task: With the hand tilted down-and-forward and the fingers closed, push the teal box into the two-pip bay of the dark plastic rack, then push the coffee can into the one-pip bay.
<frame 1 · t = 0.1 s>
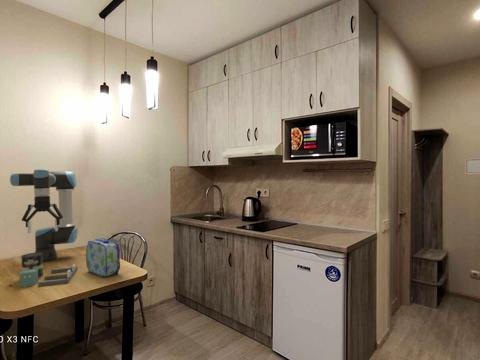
hand: (43, 231, 167), 28 cm above the table, tool pointing down, fingers open, 13 cm apart
rack: (59, 277, 169), on the table
lunch box: (103, 273, 176), on the table
coffee can: (32, 278, 169), on the table
teal box: (29, 284, 159), on the table
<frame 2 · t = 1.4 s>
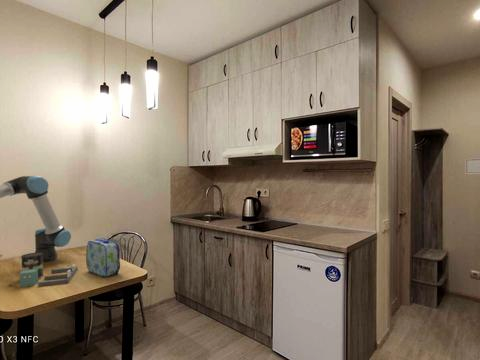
nothing on the table moved.
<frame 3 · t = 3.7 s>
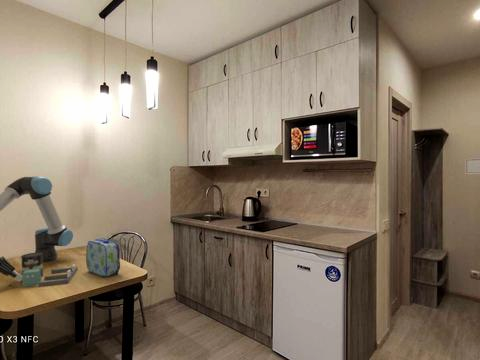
hand: (21, 279, 158), 3 cm above the table, tool tilted 45°, fingers closed
teal box: (32, 284, 159), on the table
everything else where it was.
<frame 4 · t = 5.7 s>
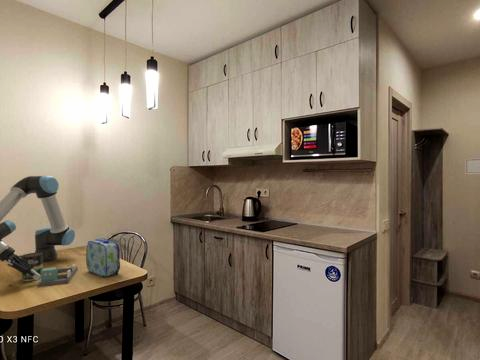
hand: (39, 278, 160), 3 cm above the table, tool tilted 45°, fingers closed
teal box: (49, 282, 162), on the table, touching gripper
everything else where it was.
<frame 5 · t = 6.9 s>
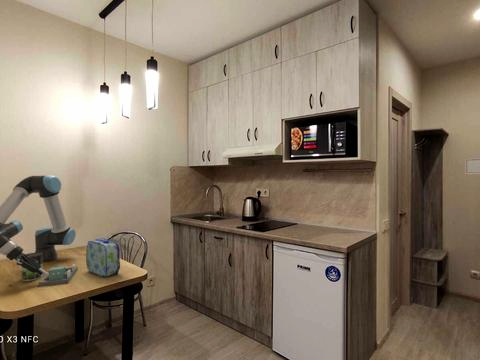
hand: (47, 276, 162), 3 cm above the table, tool tilted 45°, fingers closed
teal box: (57, 281, 164), on the table, touching gripper
everything else where it was.
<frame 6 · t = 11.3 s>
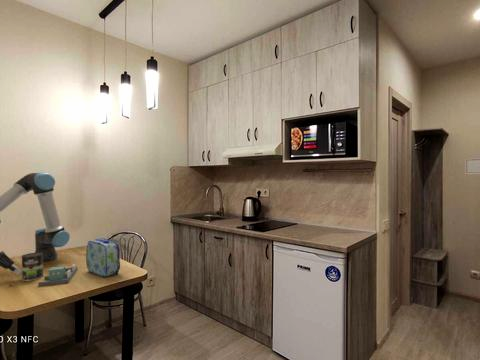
hand: (20, 273, 167), 4 cm above the table, tool tilted 45°, fingers closed
coffee can: (33, 278, 169), on the table, touching gripper
teal box: (57, 281, 164), on the table
everything else where it was.
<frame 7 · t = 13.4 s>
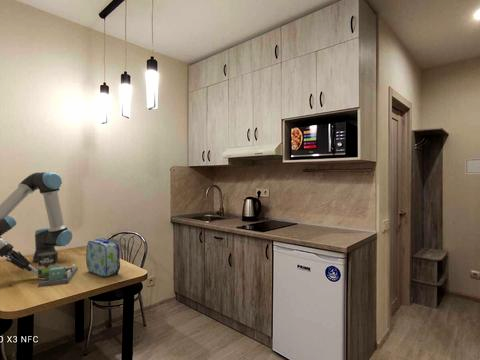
hand: (36, 273, 169), 3 cm above the table, tool tilted 45°, fingers closed
coffee can: (48, 276, 172), on the table, touching gripper
everything else where it was.
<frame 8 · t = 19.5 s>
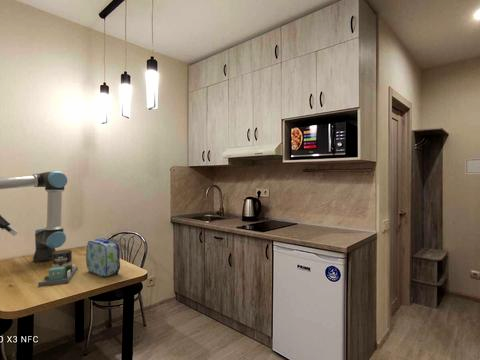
hand: (16, 234, 172), 26 cm above the table, tool tilted 45°, fingers closed
coffee can: (62, 274, 175), on the table
everything else where it was.
at the end: teal box inside the target area (0.5 cm from its centre), on the table; coffee can inside the target area (0.7 cm from its centre), on the table; coffee can tilted 0° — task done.
